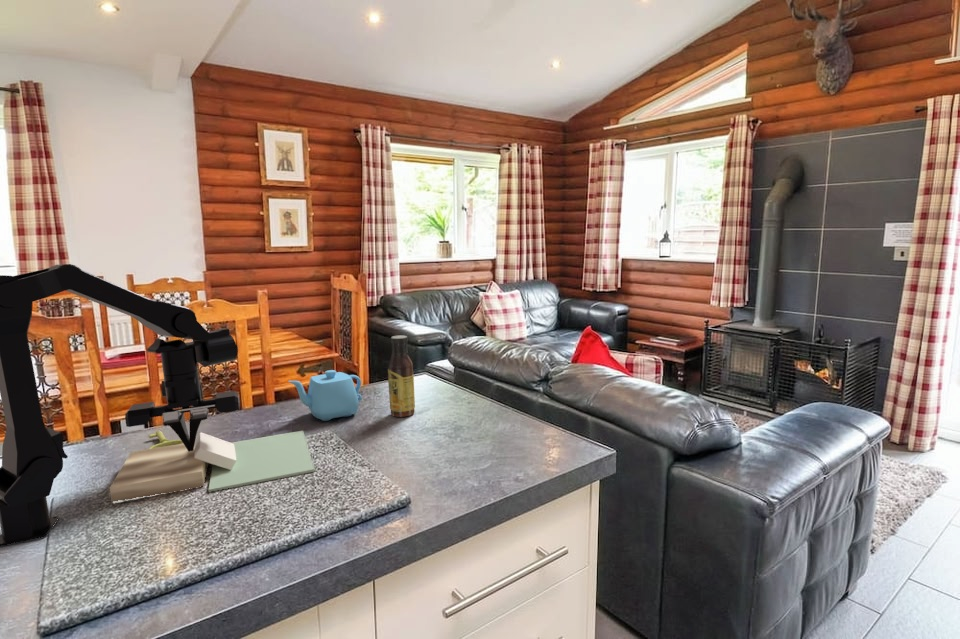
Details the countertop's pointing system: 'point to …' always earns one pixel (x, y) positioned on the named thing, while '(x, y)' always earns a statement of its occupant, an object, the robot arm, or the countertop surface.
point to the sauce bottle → (401, 379)
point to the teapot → (331, 395)
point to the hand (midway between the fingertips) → (191, 450)
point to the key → (163, 440)
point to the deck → (158, 472)
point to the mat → (264, 461)
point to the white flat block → (215, 451)
